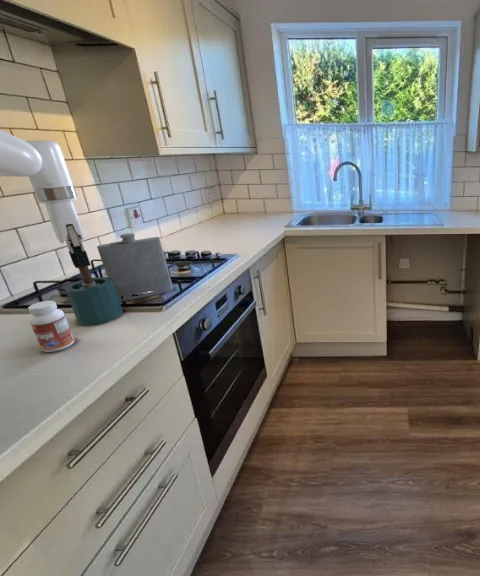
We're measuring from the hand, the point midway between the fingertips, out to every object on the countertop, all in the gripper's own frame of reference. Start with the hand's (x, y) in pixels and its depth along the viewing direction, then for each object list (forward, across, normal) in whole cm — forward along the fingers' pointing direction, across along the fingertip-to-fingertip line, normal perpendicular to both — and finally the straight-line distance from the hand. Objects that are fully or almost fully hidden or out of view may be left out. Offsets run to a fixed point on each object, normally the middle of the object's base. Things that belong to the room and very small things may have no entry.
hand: (82, 265), depth 96 cm
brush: (+11, 0, 0) cm, 11 cm away
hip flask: (+16, -8, +13) cm, 22 cm away
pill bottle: (+16, +12, -10) cm, 22 cm away
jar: (+15, 0, 0) cm, 15 cm away
